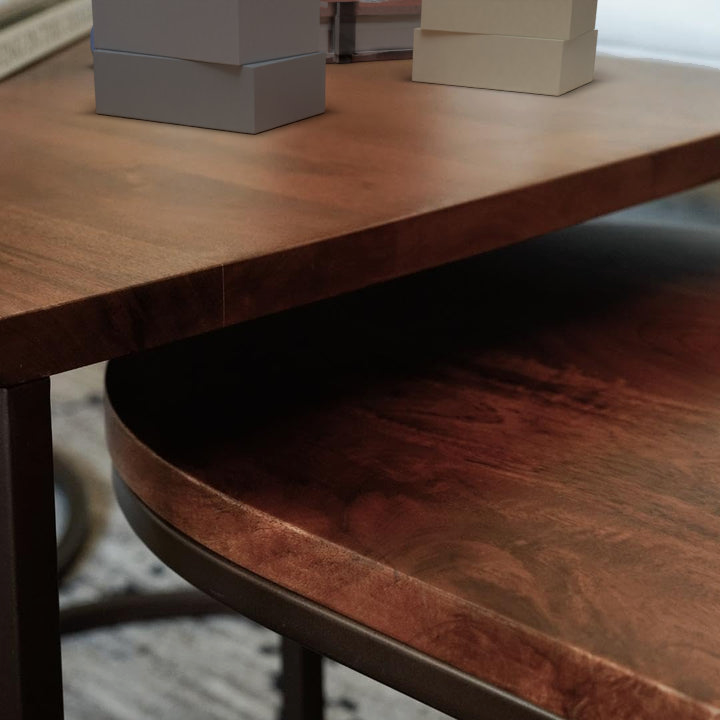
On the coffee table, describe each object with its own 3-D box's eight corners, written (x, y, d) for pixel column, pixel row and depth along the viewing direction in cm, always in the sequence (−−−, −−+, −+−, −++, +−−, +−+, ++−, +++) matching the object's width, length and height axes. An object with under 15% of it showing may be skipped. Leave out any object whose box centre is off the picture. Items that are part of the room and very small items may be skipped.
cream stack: (597, 81, 94) (607, -24, 91) (560, 97, 86) (570, -17, 83) (456, 67, 99) (461, -32, 96) (409, 81, 91) (413, -26, 88)
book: (207, 70, 93) (205, 6, 92) (130, 44, 107) (127, -13, 105) (472, 56, 106) (476, -2, 104) (373, 34, 120) (374, -17, 118)
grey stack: (326, 112, 78) (328, -14, 75) (251, 135, 70) (249, -4, 67) (174, 94, 83) (170, -24, 80) (87, 114, 75) (79, -17, 72)
